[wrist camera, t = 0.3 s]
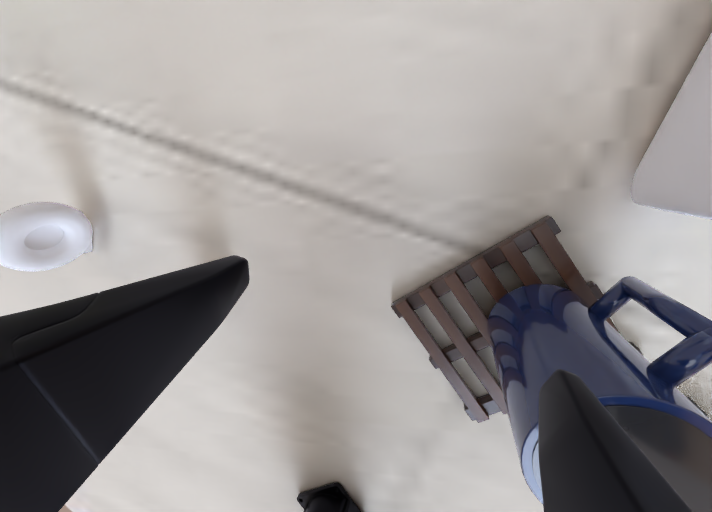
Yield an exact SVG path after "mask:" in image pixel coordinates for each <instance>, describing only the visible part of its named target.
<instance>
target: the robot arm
mask: <svg viewBox="0 0 712 512" xmlns="http://www.w3.org/2000/svg"><path fill="white" fill-rule="evenodd" d="M248 284H249V267H248V261H247V260H246V259H245V258H242V257H239V256H236V255H233V256H229V257H226V258H222V259H218V260H215V261H211V262H207V263H204V264H200V265H197V266H193V267H189V268H186V269H182V270H178V271H175V272H171V273H167V274H164V275H160V276H157V277H153V278H149V279H146V280H142V281H138V282H135V283H131V284H127V285H124V286H120V287H117V288H113V289H109V290H106V291H102V292H100V293H94V294H91V295H87V296H84V297H80V298H76V299H73V300H69V301H65V302H61V303H57V304H53V305H49V306H45V307H41V308H36V309H32V310H28V311H23V312H19V313H15V314H10V315H6V316H1V317H0V512H58V511H59V510H60V509H61V508H62V507H63V506H64V504H65V503H66V502H67V501H68V500H69V499H70V498H71V496H72V495H73V494H74V493H75V492H76V491H77V490H78V488H79V487H80V486H81V485H82V484H83V483H84V482H85V480H86V479H87V478H88V477H89V476H90V475H91V473H92V472H93V471H94V470H95V469H96V468H97V467H98V464H99V463H101V462H102V460H103V459H104V458H105V457H106V456H107V455H108V454H109V452H110V451H111V450H112V449H113V448H114V447H115V446H116V444H117V443H118V442H119V441H120V440H121V439H122V437H123V436H124V435H125V434H126V433H127V432H128V431H129V429H130V428H131V427H132V426H133V425H134V424H135V423H136V421H137V420H138V419H139V418H140V417H141V416H142V414H143V413H144V412H145V411H146V410H147V409H148V408H149V406H150V405H151V404H152V403H153V402H154V401H155V399H156V398H157V397H158V396H159V395H160V394H161V393H162V391H163V390H164V389H165V388H166V387H167V386H168V385H169V383H170V382H171V381H172V380H173V379H174V378H175V376H176V375H177V374H178V373H179V372H180V371H181V370H182V368H183V367H184V366H185V365H186V364H187V363H188V362H189V360H190V359H191V358H192V357H193V356H194V355H195V353H196V352H197V351H198V350H199V349H200V348H201V347H202V345H203V344H204V343H205V342H206V341H207V340H208V339H209V337H210V336H211V335H212V334H213V333H214V332H215V330H216V329H217V328H218V327H219V326H220V324H221V323H222V322H223V320H224V319H225V318H226V316H227V315H228V313H229V312H230V310H231V309H232V308H233V306H234V305H235V303H236V302H237V301H238V299H239V298H240V296H241V295H242V293H243V292H244V291H245V289H246V288H247V286H248ZM538 454H539V467H540V477H541V487H542V497H543V506H544V512H692V510H691V509H690V508H689V507H688V506H687V504H686V503H685V502H684V501H683V500H682V498H681V497H680V496H679V495H678V494H677V493H676V491H675V490H674V489H673V488H672V487H671V485H670V484H669V483H668V482H667V481H666V479H665V478H664V477H663V476H662V475H661V474H660V472H659V471H658V470H657V469H656V468H655V466H654V465H653V464H652V463H651V462H650V460H649V459H648V458H647V457H646V456H645V455H644V453H643V452H642V451H641V450H640V449H639V447H638V446H637V445H636V444H635V443H634V441H633V440H632V439H631V438H630V437H629V436H628V434H627V433H626V432H625V431H624V430H623V428H622V427H621V426H620V425H619V424H618V422H617V421H616V420H615V419H614V418H613V417H612V415H611V414H610V413H609V412H608V411H607V409H606V408H605V407H604V406H603V405H602V403H601V402H600V401H599V400H598V399H597V398H596V396H595V395H594V394H593V393H592V392H591V390H590V389H589V388H588V387H587V386H586V384H585V383H584V382H583V381H582V380H581V379H580V377H579V376H577V375H576V374H573V373H570V372H568V371H565V370H562V369H558V370H556V371H555V372H554V373H553V374H552V375H551V376H550V378H549V379H548V380H547V381H546V382H545V383H544V384H543V386H542V387H541V389H540V392H539V433H538ZM297 500H298V502H299V503H300V505H301V506H302V507H303V508H304V512H361V511H360V510H359V508H358V507H357V506H356V504H355V503H354V502H353V501H352V499H351V498H350V497H349V495H348V494H347V493H346V491H345V490H344V489H343V487H342V486H341V485H340V484H339V483H332V484H329V485H326V486H323V487H319V488H316V489H313V490H310V491H306V492H303V493H300V494H299V495H298V497H297Z"/></svg>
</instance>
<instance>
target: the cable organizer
mask: <svg viewBox="0 0 712 512" xmlns="http://www.w3.org/2000/svg"><path fill="white" fill-rule="evenodd" d="M631 198H632V200H633V201H634V202H635V203H636V204H639V205H643V206H647V207H651V208H655V209H659V210H663V211H669V212H674V213H679V214H684V215H690V216H695V217H700V218H705V219H711V220H712V32H711V34H710V36H709V38H708V39H707V41H706V43H705V45H704V47H703V49H702V50H701V52H700V54H699V56H698V58H697V60H696V61H695V63H694V65H693V67H692V69H691V71H690V72H689V74H688V76H687V78H686V80H685V82H684V83H683V85H682V87H681V89H680V91H679V93H678V94H677V96H676V98H675V100H674V102H673V104H672V105H671V107H670V109H669V111H668V113H667V115H666V116H665V118H664V120H663V122H662V124H661V125H660V127H659V129H658V131H657V133H656V135H655V136H654V138H653V140H652V142H651V144H650V146H649V147H648V149H647V151H646V153H645V155H644V157H643V158H642V160H641V162H640V164H639V166H638V168H637V170H636V173H635V175H634V178H633V181H632V186H631Z"/></svg>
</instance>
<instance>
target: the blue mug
mask: <svg viewBox="0 0 712 512" xmlns="http://www.w3.org/2000/svg"><path fill="white" fill-rule="evenodd" d="M631 299H633V300H634V301H636V302H637V303H639V304H640V305H641V306H643V307H644V308H646V309H647V310H649V311H650V312H651V313H653V314H654V315H656V316H657V317H659V318H660V319H661V320H663V321H664V322H666V323H667V324H669V325H670V326H671V327H673V328H674V329H676V330H677V331H679V332H680V333H681V334H683V335H684V336H686V338H685V339H684V340H682V341H681V342H680V343H678V344H677V345H675V346H674V347H673V348H671V349H670V350H669V351H667V352H666V353H664V354H663V355H662V356H660V357H659V358H658V359H656V360H655V361H653V362H652V363H650V362H649V361H648V360H647V359H646V358H645V357H644V356H643V355H642V354H641V353H639V352H638V351H637V350H636V349H635V348H634V347H633V346H632V345H631V344H630V343H629V342H628V341H627V340H626V339H625V338H624V337H623V336H622V335H621V334H619V333H618V332H617V331H616V330H615V329H614V328H613V327H612V326H611V325H610V324H609V323H608V322H607V321H606V320H607V319H608V318H609V317H611V316H612V315H613V314H614V313H615V312H617V311H618V310H619V309H620V308H621V307H622V306H624V305H625V304H626V303H627V302H628V301H630V300H631ZM487 331H488V336H489V340H490V344H491V348H492V352H493V356H494V360H495V364H496V368H497V372H498V376H499V380H500V384H501V388H502V392H503V396H504V400H505V404H506V408H507V412H508V416H509V420H510V424H511V428H512V432H513V436H514V441H515V445H516V449H517V453H518V457H519V461H520V465H521V469H522V473H523V475H524V478H525V480H526V482H527V484H528V486H529V488H530V489H531V491H532V492H533V493H534V495H535V496H536V497H537V499H538V500H539V501H540V502H541V503H542V504H543V497H542V487H541V477H540V467H539V454H538V433H539V392H540V389H541V387H542V386H543V384H544V383H545V382H546V381H547V380H548V379H549V378H550V376H551V375H552V374H553V373H554V372H555V371H556V370H558V369H562V370H565V371H568V372H570V373H573V374H576V375H577V376H579V377H580V379H581V380H582V381H583V382H584V383H585V384H586V386H587V387H588V388H589V389H590V390H591V392H592V393H593V394H594V395H595V396H596V398H597V399H598V400H599V401H600V402H601V403H602V405H603V406H604V407H605V408H606V409H607V411H608V412H609V413H610V414H611V415H612V417H613V418H614V419H615V420H616V421H617V422H618V424H619V425H620V426H621V427H622V428H623V430H624V431H625V432H626V433H627V434H628V436H629V437H630V438H631V439H632V440H633V441H634V443H635V444H636V445H637V446H638V447H639V449H640V450H641V451H642V452H643V453H644V455H645V456H646V457H647V458H648V459H649V460H650V462H651V463H652V464H653V465H654V466H655V468H656V469H657V470H658V471H659V472H660V474H661V475H662V476H663V477H664V478H665V479H666V481H667V482H668V483H669V484H670V485H671V487H672V488H673V489H674V490H675V491H676V493H677V494H678V495H679V496H680V497H681V498H682V500H683V501H684V502H685V503H686V504H687V506H688V507H689V508H690V509H691V510H692V512H712V421H711V420H710V419H709V418H708V417H707V416H706V415H705V414H704V413H703V412H702V411H701V410H699V409H698V408H697V407H696V406H695V405H694V404H693V403H692V402H691V401H690V400H689V399H688V398H687V397H686V396H685V395H684V394H683V393H682V392H681V391H679V390H678V389H677V388H676V387H677V386H678V385H680V384H681V383H683V382H684V381H686V380H687V379H689V378H690V377H692V376H693V375H695V374H696V373H698V372H699V371H701V370H702V369H704V368H705V367H707V366H708V365H710V364H711V363H712V321H711V320H709V319H708V318H706V317H704V316H702V315H701V314H699V313H697V312H695V311H694V310H692V309H690V308H688V307H687V306H685V305H683V304H681V303H680V302H678V301H676V300H674V299H673V298H671V297H669V296H667V295H666V294H664V293H662V292H660V291H659V290H657V289H655V288H653V287H652V286H650V285H648V284H646V283H645V282H643V281H641V280H639V279H638V278H635V277H631V276H628V277H624V278H622V279H621V280H619V281H618V282H617V283H616V284H615V285H614V286H613V287H611V288H610V289H609V290H608V291H607V292H606V293H605V294H604V295H602V296H601V297H600V298H599V299H598V300H597V301H596V302H595V303H593V304H592V305H591V306H590V305H589V304H588V303H587V302H586V301H585V300H584V299H583V298H581V297H580V296H579V295H577V294H576V293H574V292H572V291H571V290H568V289H566V288H563V287H560V286H556V285H550V284H533V285H527V286H523V287H520V288H517V289H515V290H513V291H511V292H509V293H507V294H506V295H505V296H503V297H502V298H501V299H500V300H499V301H498V302H497V303H496V304H495V305H494V307H493V309H492V310H491V312H490V315H489V318H488V324H487Z"/></svg>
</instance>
